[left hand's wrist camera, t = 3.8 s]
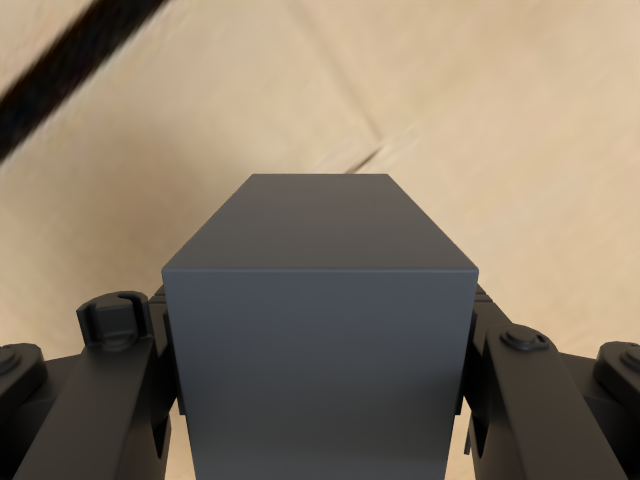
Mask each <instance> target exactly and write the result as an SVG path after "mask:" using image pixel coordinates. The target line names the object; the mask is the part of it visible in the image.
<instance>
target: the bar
mask: <svg viewBox="0 0 640 480" xmlns="http://www.w3.org/2000/svg"><path fill="white" fill-rule="evenodd" d="M478 275H479V269H478V267H477V266H476V265H475V264H474V263H473V262H472V261H471V260H470V259H469V258H468V257H467V256H466V255H465V254H464V253H463V252H462V251H461V250H460V249H459V248H458V247H457V246H456V245H455V244H454V243H453V242H452V241H451V239H450V238H449V237H448V236H447V235H446V234H445V233H444V232H443V231H442V230H441V229H440V228H439V227H438V226H437V225H436V224H435V223H434V222H433V221H432V220H431V219H430V218H429V217H428V216H427V215H426V214H425V212H424V211H423V210H422V209H421V208H420V207H419V206H418V205H417V204H416V203H415V202H414V201H413V200H412V199H411V198H410V197H409V196H408V195H407V194H406V193H405V192H404V191H403V190H402V189H401V188H400V187H399V185H398V184H397V183H396V182H395V181H394V180H393V179H392V178H391V177H390V176H389V175H388V174H252V175H251V176H250V177H249V178H248V179H247V181H246V182H245V183H244V184H243V185H242V186H241V187H240V188H239V189H238V190H237V191H236V192H235V193H234V194H233V195H232V196H231V197H230V198H229V199H228V200H227V201H226V202H225V203H224V204H223V206H222V207H221V208H220V209H219V210H218V211H217V212H216V213H215V214H214V215H213V216H212V217H211V218H210V219H209V220H208V221H207V222H206V223H205V224H204V225H203V226H202V227H201V228H200V229H199V231H198V232H197V233H196V234H195V235H194V236H193V237H192V238H191V239H190V240H189V241H188V242H187V243H186V244H185V245H184V246H183V247H182V248H181V249H180V250H179V251H178V252H177V253H176V254H175V255H174V257H173V258H172V259H171V260H170V261H169V262H168V263H167V264H166V265H165V266H164V267H163V268H162V278H163V284H164V290H165V296H166V302H167V308H168V314H169V320H170V326H171V332H172V338H173V344H174V350H175V356H176V362H177V368H178V374H179V380H180V386H181V392H182V398H183V404H184V410H185V416H186V422H187V428H188V434H189V440H190V446H191V452H192V458H193V464H194V470H195V476H196V480H444V479H445V473H446V467H447V461H448V455H449V449H450V443H451V437H452V431H453V425H454V419H455V413H456V407H457V401H458V395H459V389H460V383H461V377H462V371H463V365H464V359H465V353H466V347H467V341H468V335H469V329H470V323H471V317H472V311H473V305H474V299H475V293H476V287H477V281H478Z"/></svg>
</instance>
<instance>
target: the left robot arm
mask: <svg viewBox="0 0 640 480" xmlns="http://www.w3.org/2000/svg"><path fill="white" fill-rule="evenodd" d="M76 313H77V317H78V320H79V324H80V328H81V331H82V335H83V339H84V343H85V347H84V349H83V351H82V353H81V354H78V355H74V356H69V357H64V358H58V359H53V360H48V361H44V358H43V354H42V351H41V348H39V347H38V346H37V345H35V344H28V343H20V344H9V345H4V346H3V347H1V346H0V480H164V479H165V472H166V465H167V458H168V450H169V443H170V436H171V421H170V416H169V411H170V409H171V407H172V405H173V403H174V401H175V399H176V397H177V401H178V407H179V413H180V415H185V410H184V404H183V398H182V392H181V386H180V380H179V374H178V368H177V362H176V356H175V350H174V344H173V338H172V332H171V326H170V320H169V314H168V308H167V302H166V296H165V290H164V284H163V285H162V286H161V287H160V288H159V290H158V291H157V292H156V293H155V296H152V298H151V299H150V300H149V301H148V298H147V296H146V295H144V294H143V293H140V292H135V291H120V292H114V293H109V294H105V295H102V296H99V297H96V298H94V299H92V300H90V301H88V302H86V303H84V304H83V305H82V306H81V307H80V308H78V309H77V310H76ZM463 397H465V399H466V401H467V403H468V405H469V407H470V409H471V416H470V421H469V427H468V432H467V437H466V443H465V449H464V454H466V455H469V453H470V448H471V450H472V457H473V464H474V471H475V478H476V480H640V345H638V344H635V343H630V342H629V343H627V342H618V341H615V342H607V343H605V344H603V345H602V346H601V347H600V349H599V352H598V356H597V359H591V358H586V357H580V356H575V355H570V354H565V353H561V352H558V350H557V348H556V346H555V345H554V344H553V343H552V341H551V340H550V339H549V338H548V337H546V336H545V335H543V334H542V333H540V332H539V331H537V330H534V329H532V328H529V327H527V326H523V325H518V324H514V323H512V322H511V321H510V320H509V319H508V317H507V316H506V315H505V314H504V313H503V312H502V311H501V309H500V308H499V307H498V306H497V305H496V304H495V303H494V302H493V300H492V299H491V298H490V297H489V296H488V295H486V292H485V291H484V290H483V289H482V288H481V287H480V285H479V284H478V283H477V287H476V293H475V299H474V305H473V311H472V317H471V323H470V329H469V335H468V341H467V347H466V353H465V359H464V365H463V371H462V377H461V383H460V389H459V395H458V401H457V407H456V413H455V415H460V414H461V409H462V403H463Z"/></svg>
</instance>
